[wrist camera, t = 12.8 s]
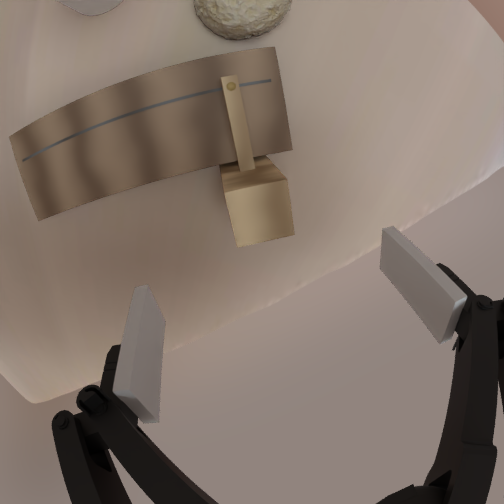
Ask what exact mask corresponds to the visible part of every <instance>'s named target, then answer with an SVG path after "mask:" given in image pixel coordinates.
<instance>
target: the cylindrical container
mask: <svg viewBox="0 0 504 504" xmlns="http://www.w3.org/2000/svg"><path fill="white" fill-rule="evenodd" d="M55 1H58V2H60V3H62V4H64V5H66V6H67V7H69V8H71V9H73V10H75V11H77V12H79V13H81V14H83V15H87V16H95V15H100V14H103V13H106V12H108V11H110V10H112V9H113V8H115V7H116V6H117V5H119V4H120V3H121V2H122V1H123V0H55Z"/></svg>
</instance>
